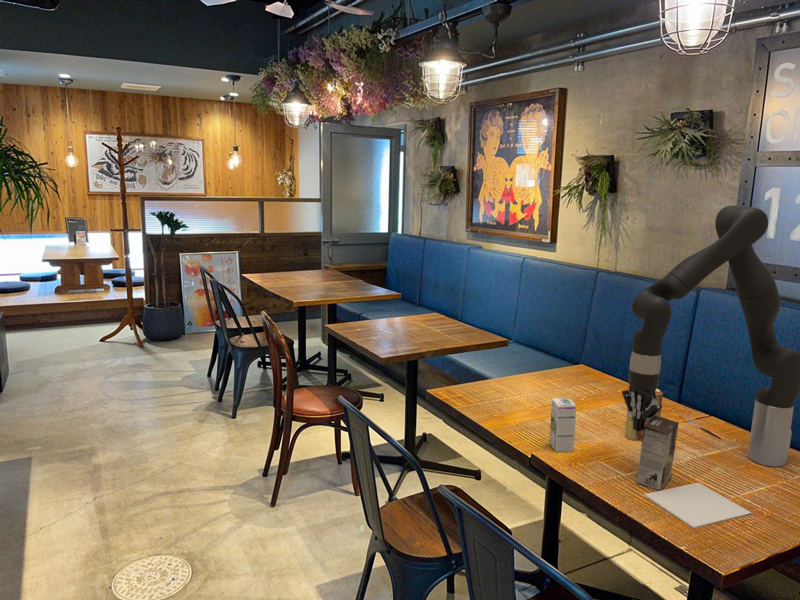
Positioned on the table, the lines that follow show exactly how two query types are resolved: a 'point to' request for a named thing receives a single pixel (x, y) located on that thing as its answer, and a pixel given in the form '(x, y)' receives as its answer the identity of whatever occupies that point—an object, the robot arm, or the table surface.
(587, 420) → the table surface
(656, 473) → the coffee box
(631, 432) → the candy box
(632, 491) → the table surface
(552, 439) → the syrup box
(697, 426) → the fork
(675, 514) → the mat
